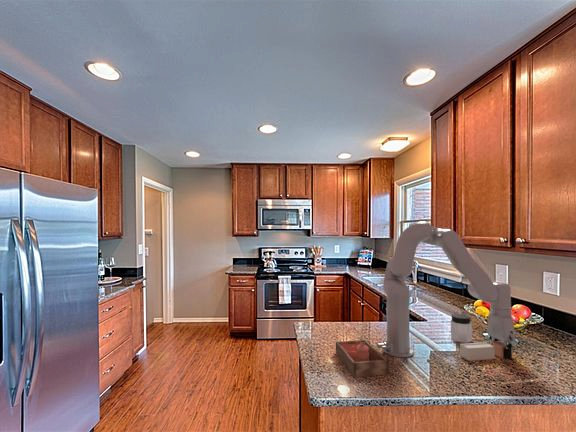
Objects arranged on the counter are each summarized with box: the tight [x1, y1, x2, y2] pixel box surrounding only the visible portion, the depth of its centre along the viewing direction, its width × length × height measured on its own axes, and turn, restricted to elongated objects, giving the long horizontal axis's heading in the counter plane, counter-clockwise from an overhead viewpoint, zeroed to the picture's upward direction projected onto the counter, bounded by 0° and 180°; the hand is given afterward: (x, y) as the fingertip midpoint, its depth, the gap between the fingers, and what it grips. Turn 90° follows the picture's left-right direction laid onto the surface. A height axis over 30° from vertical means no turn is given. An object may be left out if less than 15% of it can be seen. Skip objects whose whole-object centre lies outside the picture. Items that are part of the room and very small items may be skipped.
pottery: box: [340, 342, 371, 362], centre depth 130 cm, size 18×10×10 cm, turn 9°
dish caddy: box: [335, 339, 389, 378], centre depth 128 cm, size 14×23×5 cm, turn 8°
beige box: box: [459, 342, 496, 361], centre depth 132 cm, size 12×5×5 cm, turn 98°
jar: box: [450, 313, 473, 344], centre depth 153 cm, size 9×8×12 cm
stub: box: [491, 340, 513, 359], centre depth 133 cm, size 5×5×5 cm
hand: (501, 354), depth 133 cm, fingers closed on stub, 5 cm apart
